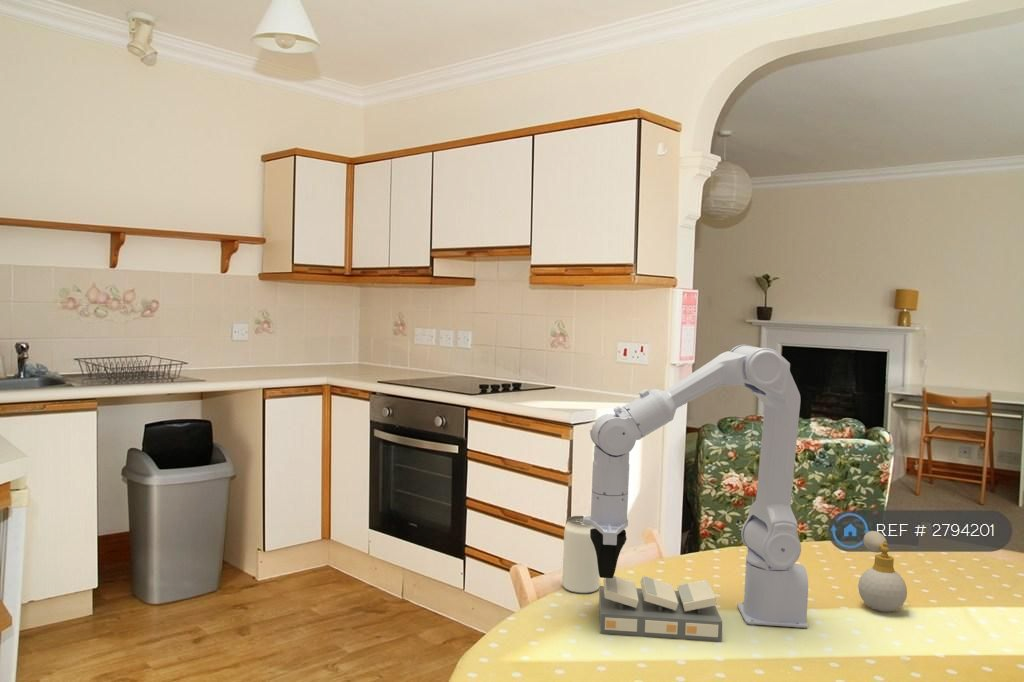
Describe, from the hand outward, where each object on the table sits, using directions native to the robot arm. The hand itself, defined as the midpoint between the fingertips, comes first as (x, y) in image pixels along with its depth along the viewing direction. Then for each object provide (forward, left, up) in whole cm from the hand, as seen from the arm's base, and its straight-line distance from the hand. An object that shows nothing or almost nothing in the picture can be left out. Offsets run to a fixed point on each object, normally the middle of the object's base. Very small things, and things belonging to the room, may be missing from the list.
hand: (606, 576), depth 128 cm
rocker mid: (-8, 0, -2) cm, 9 cm away
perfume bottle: (-46, -13, -7) cm, 49 cm away
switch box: (-8, 0, -7) cm, 11 cm away
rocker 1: (-2, 0, -2) cm, 3 cm away
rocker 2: (-14, 0, -2) cm, 14 cm away
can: (+4, -13, -7) cm, 15 cm away
